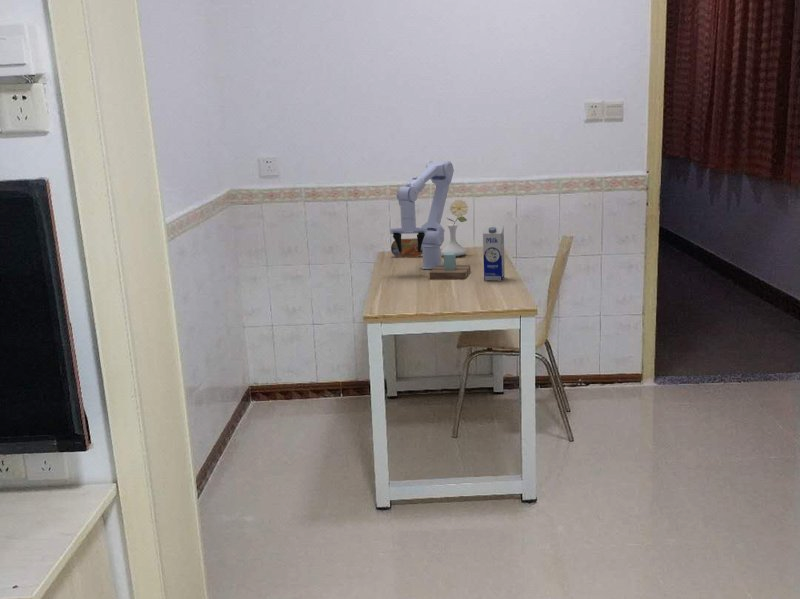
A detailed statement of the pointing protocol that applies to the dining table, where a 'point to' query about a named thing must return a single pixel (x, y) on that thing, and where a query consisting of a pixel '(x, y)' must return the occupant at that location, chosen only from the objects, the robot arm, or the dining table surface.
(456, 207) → the flower in vase
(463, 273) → the walnut base
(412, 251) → the tin
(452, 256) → the teal block
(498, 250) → the milk carton
